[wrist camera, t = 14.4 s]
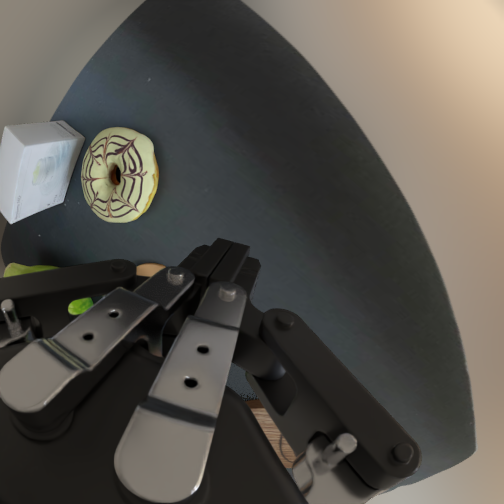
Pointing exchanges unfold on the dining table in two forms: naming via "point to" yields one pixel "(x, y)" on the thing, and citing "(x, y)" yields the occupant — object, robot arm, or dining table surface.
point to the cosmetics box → (36, 166)
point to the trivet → (272, 433)
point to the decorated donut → (132, 174)
